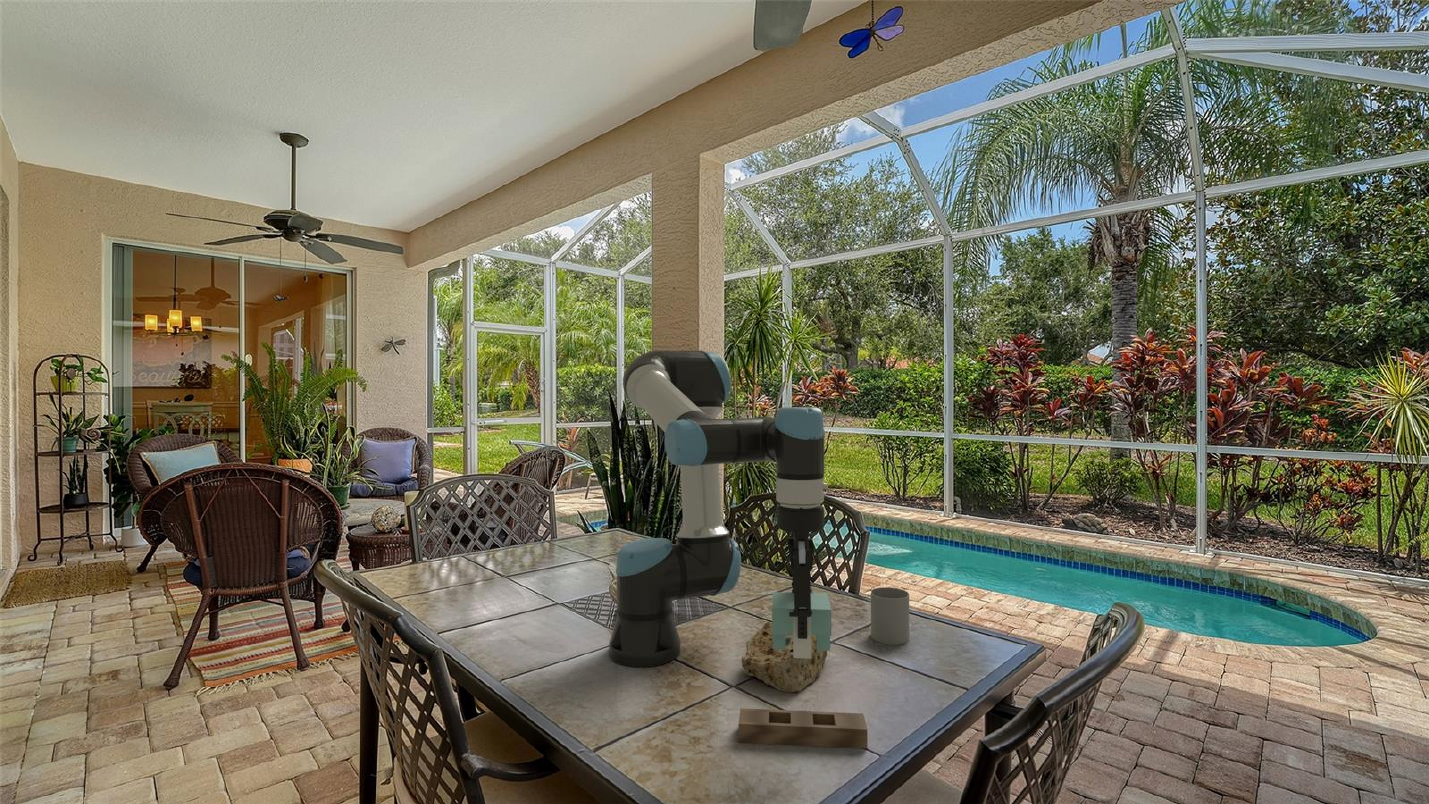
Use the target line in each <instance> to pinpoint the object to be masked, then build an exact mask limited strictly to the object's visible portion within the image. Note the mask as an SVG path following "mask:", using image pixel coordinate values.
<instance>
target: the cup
mask: <svg viewBox="0 0 1429 804" xmlns="http://www.w3.org/2000/svg"><path fill="white" fill-rule="evenodd" d="M870 639H872V640H874V641H875V642H878V643H880V644H885V645H903V644H907V643H908V642H910V593H909V592H908V591H906V590H904V589H901V588H897V587H890V586H889V587H887V586H885V587H882V586H881V587H875V588H873V589H871V590H870Z"/></svg>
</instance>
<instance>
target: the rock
mask: <svg viewBox="0 0 1429 804" xmlns="http://www.w3.org/2000/svg"><path fill="white" fill-rule="evenodd" d="M827 657H828V651H820V650H817V635H811V659H807V658H793V637H792V635H785V649H773V634H772V621H771V622H770V621H767V622H766V623H764V624H763V626H762V627H761V628H760V629H758V631H757V632H756V633H755V634H754V635H753V636H752V637H751V638H750V639H748V640H747V642H746V653H745V654H744V656H742V657H741V666H742V668H743V671H744V674H745V676H747V677H749V676H750V677H751V676H752V677H756V678H757V679H758V680H761V681H763V682H764V683H765V685H770V687H773V688H775V689H777V690H778V691H780V692H786V693H801V692H802V690H803V689H805V688H807V686H808V685H810V684H812V683H815V680H816V678H817V677H818V676H820V674H821V672H822V670H823V665H824V663H825V662H826V659H827Z"/></svg>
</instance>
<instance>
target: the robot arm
mask: <svg viewBox="0 0 1429 804" xmlns="http://www.w3.org/2000/svg"><path fill="white" fill-rule="evenodd" d="M622 387H623V391H624V394H625V396H626V397H627V399H628V400H629V401H630V402H631V403H632V404H633V405H634V406H635V407H637V408H640V409H643V410H644V411H645V412H646V413H647V414H648V416H650V418H651V419H652V420H653V421H654V422H655V423H656V424H657V426H658V427H659V428H660V429H661V430H662V431H663V433H664V450H665V453H666V456H667V459H668V461H669V462H670V463H671V464H672V465H675V466H679V467H680V484H681V507H682V508H681V509H682V524H683V525H682V527H681V529H680V531H678V533H677V534H676V543H675V544H673V543H672V541H671V540H670V539H668V538H664V537H656V538H654V537H651V538H650V537H649V538H643V539H639V540H635V541H632V542H629V543H627V544H625V545H624V546H623V547H621V548H620V549H619V551H618V553H617V556H616V566H615V575H616V620H615V623H614V626H613V630H612V633H611V637H610V640H609V644H608V656H609V658H610V659H611V660H612V662H615V663H616V664H620V665H623V666H627V667H628V666H629V667H636V668H637V667H639V668H641V667H642V668H643V667H645V668H646V667H654V666H659V665H663V664H666V663H667V664H668V663H669V662H672V661H673V660H675V659H676V658H678V657H679V656H680V654H681V651H682V650H681V642H682V641H681V638H680V635H679V631H678V629H677V626H676V623H675V619H674V616H673V602H674V601H678V600H685V599H691V598H694V599H695V598H700V597H708V596H710V597H716V596H718V595H720V594H727V593H729V592H731V591H733V589H734V588H735V586H736V585H737V583H738V581H739V578H740V574H741V567H742V557H741V551H740V547H739V544H738V542H736V540H735V539H733V538H731V537H730V530H728V529H727V527H726V528H725V526H724V525H723V522H722V521H723V520H722V503H721V501H722V500H721V499H722V498H721V483H720V482H721V480H720V465H721V464H723V465H724V464H741V463H743V464H744V463H760V462H761V463H763V462H771V463H776V465H775V466H776V477H775V478H776V479H775V487H776V488H775V492H776V493H775V494H776V498H775V499H776V501H777V503H779V504H778V505H777V506H776V527H777V529H779V530H780V531H783V532H790V533H791V534H790V535H791V537H792V538H788V539H787V544H788V545H787V547H788V553H789V562H790V563H789V567H790V571H791V572H792V582H791V586H792V589H791V593H794V611H793V612H789V617H793V635H792V637H793V658H807V659H811V614H812V611H811V593H813V589H812V587H811V586H812V584H811V579H812V578H811V571H813V566H814V565H813V554H814V550H815V549H814V548H815V546H814V541H813V539H814V538H809V534H810V533H812V532H813V533H817V532H820V531H823V529H824V528H825V507H824V506H823V505H822V503H824V501H825V492H824V490H827V489H828V488H829V484H828V483H827V482H824V481H825V480H824V478H825V477H824V476H825V475H824V474H825V434H826V431H825V428H824V427H825V426H824V414H823V410H821V409H820V408H819V407H814V406H813V407H812V406H811V407H810V406H808V407H807V406H794V407H790V406H787V407H786V406H785V407H780V408H779V409H778V410H777V411H776V415H775V417H771V416H756V417H744V418H743V417H742V418H717V417H718V415H719V414H720V413H721V412H722V410H723V404H724V403H725V402H726V401H728V399H729V398H730V396H731V390H732V378H731V373H730V369H729V367H728V364H727V362H726V360H725V359H724V357H723V356H722V355H720V354H719V353H718V352H714V351H704V350H703V349H702V350H657V349H656V350H650V351H648V352H645V353H643V354H639V356H636V358H634V359H633V360H632V361H631V362H630V363H629V364H628V365H627V367H626V369H625V371H624V374H623V377H622Z"/></svg>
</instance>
